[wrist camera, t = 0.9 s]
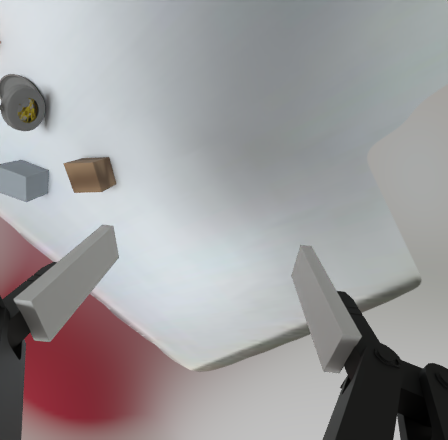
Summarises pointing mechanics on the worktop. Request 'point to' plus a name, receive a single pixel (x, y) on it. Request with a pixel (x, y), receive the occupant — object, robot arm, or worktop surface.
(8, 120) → the pocket watch
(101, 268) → the robot arm
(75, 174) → the walnut cube
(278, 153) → the worktop surface
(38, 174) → the slate cube
